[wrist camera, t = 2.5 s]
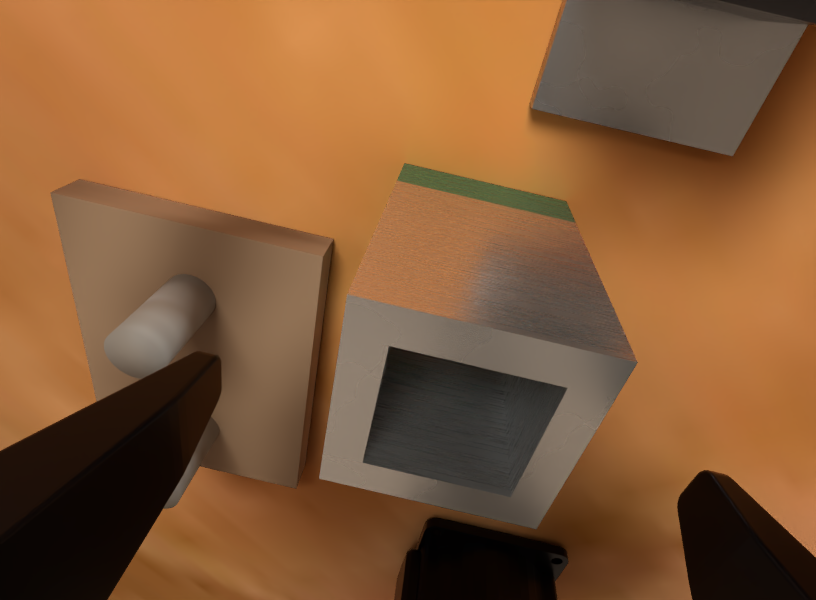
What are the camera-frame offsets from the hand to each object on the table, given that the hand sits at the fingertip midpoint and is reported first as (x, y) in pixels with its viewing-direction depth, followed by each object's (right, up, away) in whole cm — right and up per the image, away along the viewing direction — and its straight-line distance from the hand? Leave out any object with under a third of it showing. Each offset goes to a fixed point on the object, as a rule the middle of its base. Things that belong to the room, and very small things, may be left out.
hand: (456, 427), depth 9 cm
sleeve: (+1, +4, +6) cm, 7 cm away
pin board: (-8, +1, +9) cm, 12 cm away
